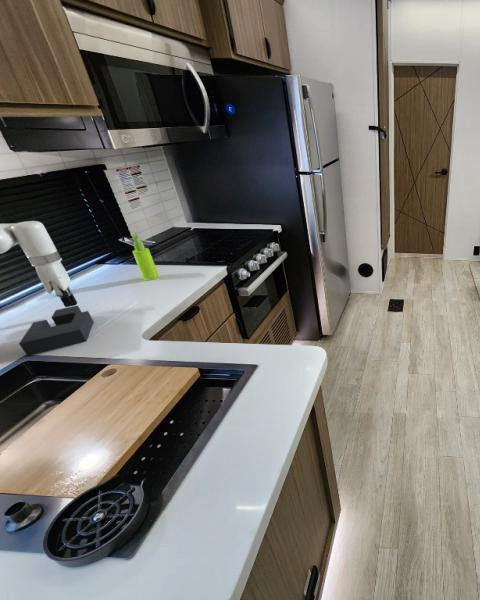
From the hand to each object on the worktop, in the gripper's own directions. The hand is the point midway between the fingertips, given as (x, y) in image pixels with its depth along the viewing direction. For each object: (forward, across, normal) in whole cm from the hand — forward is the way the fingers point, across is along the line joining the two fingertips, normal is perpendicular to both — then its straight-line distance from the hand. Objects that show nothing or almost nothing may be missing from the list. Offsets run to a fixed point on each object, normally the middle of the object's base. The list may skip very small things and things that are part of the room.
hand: (71, 305), depth 121 cm
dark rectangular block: (+3, +19, 0) cm, 19 cm away
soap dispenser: (+4, -23, +23) cm, 33 cm away
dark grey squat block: (+3, +8, 0) cm, 9 cm away
